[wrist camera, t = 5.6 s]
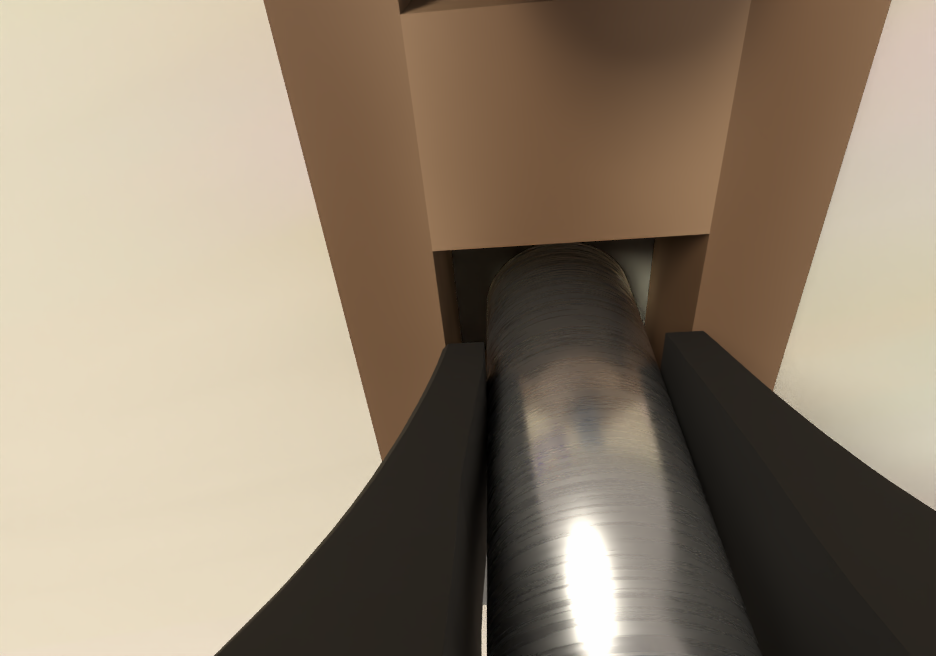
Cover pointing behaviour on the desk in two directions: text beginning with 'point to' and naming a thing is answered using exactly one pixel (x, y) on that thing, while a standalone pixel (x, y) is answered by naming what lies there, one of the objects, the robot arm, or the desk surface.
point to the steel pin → (593, 478)
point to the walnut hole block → (571, 155)
